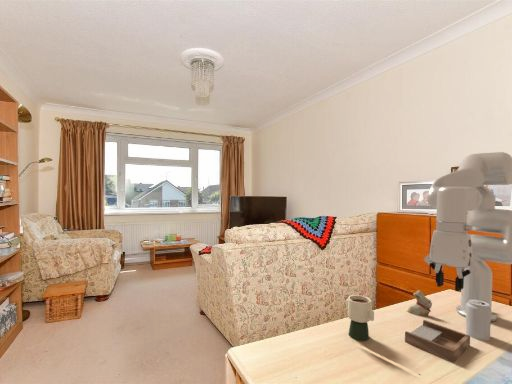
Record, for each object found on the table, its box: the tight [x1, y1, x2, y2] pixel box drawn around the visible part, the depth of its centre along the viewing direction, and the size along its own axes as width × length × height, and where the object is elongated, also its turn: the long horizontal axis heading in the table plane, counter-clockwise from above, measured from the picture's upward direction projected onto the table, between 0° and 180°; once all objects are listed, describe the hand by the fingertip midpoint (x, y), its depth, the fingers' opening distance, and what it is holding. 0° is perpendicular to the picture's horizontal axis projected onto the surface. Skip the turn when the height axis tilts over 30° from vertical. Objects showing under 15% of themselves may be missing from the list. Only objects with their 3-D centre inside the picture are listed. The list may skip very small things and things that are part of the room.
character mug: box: [345, 294, 375, 342], centre depth 91 cm, size 11×7×13 cm, turn 29°
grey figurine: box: [406, 289, 433, 317], centre depth 109 cm, size 6×8×10 cm
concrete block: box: [410, 324, 442, 343], centre depth 90 cm, size 10×6×2 cm, turn 128°
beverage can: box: [465, 299, 492, 342], centre depth 93 cm, size 6×6×12 cm
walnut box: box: [404, 319, 471, 363], centre depth 87 cm, size 14×13×4 cm
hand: (449, 287), depth 85 cm, fingers open, 4 cm apart
